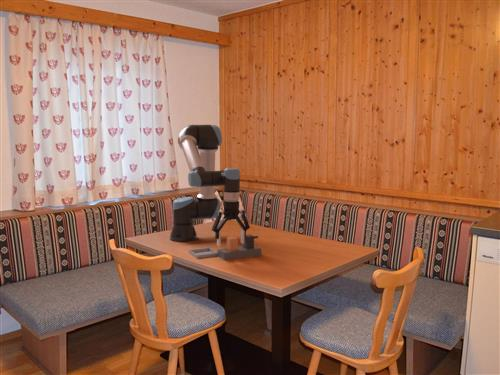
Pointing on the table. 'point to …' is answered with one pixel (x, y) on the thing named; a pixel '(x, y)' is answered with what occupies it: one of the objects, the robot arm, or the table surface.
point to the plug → (232, 244)
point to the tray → (203, 252)
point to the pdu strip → (242, 250)
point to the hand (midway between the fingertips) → (230, 244)
